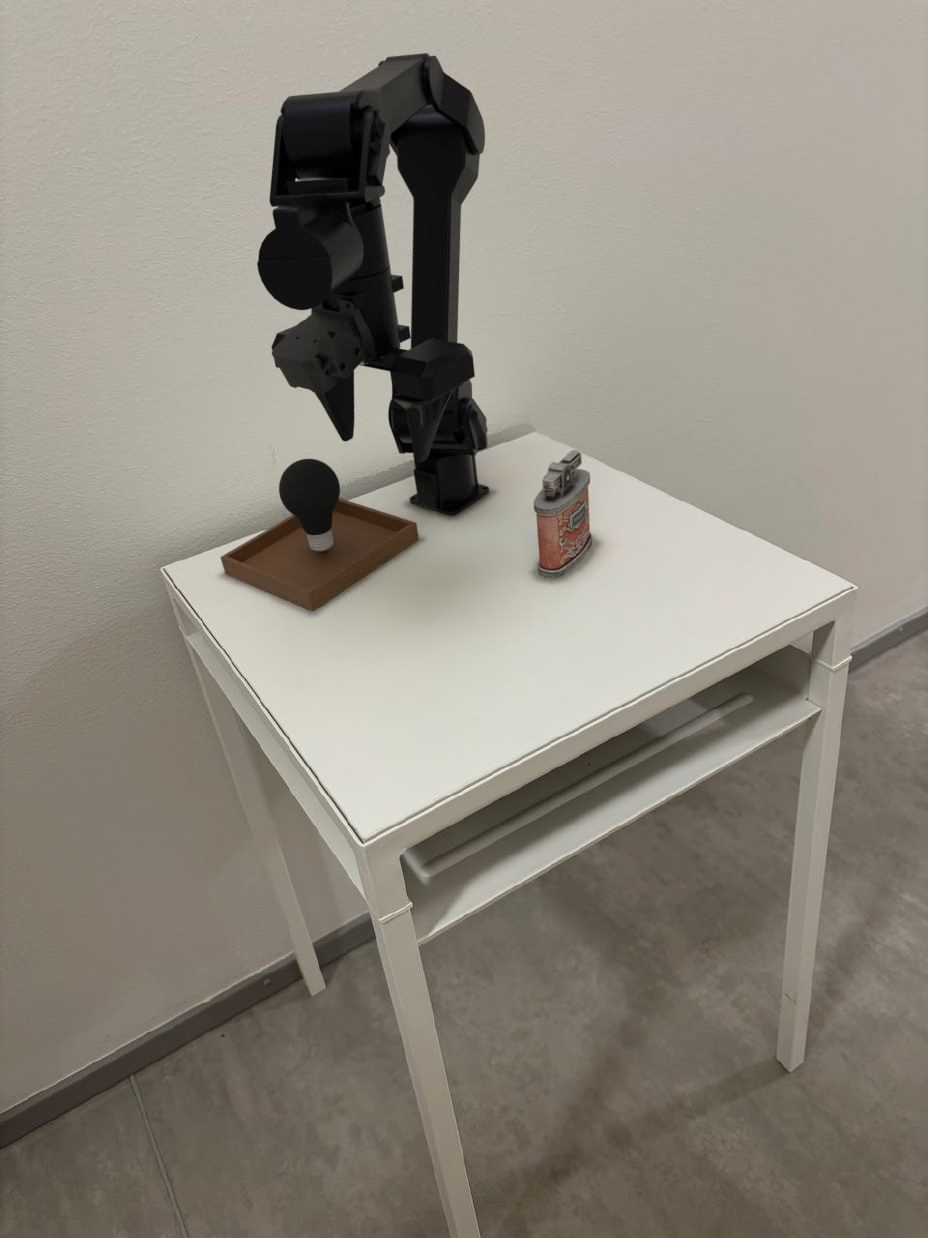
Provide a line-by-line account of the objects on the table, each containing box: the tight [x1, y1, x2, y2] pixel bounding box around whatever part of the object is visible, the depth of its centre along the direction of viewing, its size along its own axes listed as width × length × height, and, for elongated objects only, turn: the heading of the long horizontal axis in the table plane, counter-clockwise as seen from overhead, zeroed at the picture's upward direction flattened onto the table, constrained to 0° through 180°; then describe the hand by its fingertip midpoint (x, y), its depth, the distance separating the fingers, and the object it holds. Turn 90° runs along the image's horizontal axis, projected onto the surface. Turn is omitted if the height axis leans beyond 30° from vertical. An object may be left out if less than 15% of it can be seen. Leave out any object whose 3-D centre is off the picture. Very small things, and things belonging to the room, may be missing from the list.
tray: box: [220, 497, 420, 612], centre depth 96 cm, size 15×13×2 cm
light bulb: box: [278, 458, 341, 553], centre depth 93 cm, size 6×6×10 cm
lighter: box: [533, 449, 593, 580], centre depth 88 cm, size 8×3×10 cm, turn 148°
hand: (384, 449), depth 85 cm, fingers open, 9 cm apart
